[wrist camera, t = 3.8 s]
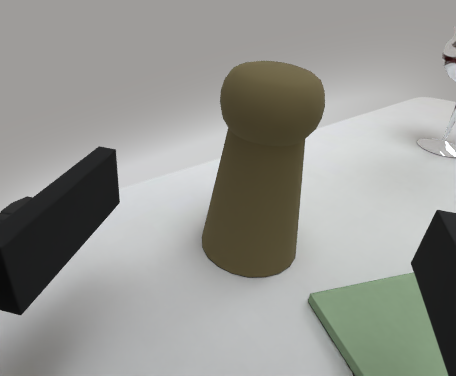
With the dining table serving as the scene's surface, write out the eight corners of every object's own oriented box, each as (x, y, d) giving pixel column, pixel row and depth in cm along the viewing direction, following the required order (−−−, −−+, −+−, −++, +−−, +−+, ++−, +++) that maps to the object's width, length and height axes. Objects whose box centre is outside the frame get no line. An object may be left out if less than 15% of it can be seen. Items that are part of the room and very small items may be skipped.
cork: (304, 230, 24) (347, 65, 19) (283, 291, 20) (333, 92, 14) (222, 205, 26) (239, 46, 20) (184, 256, 21) (192, 65, 15)
